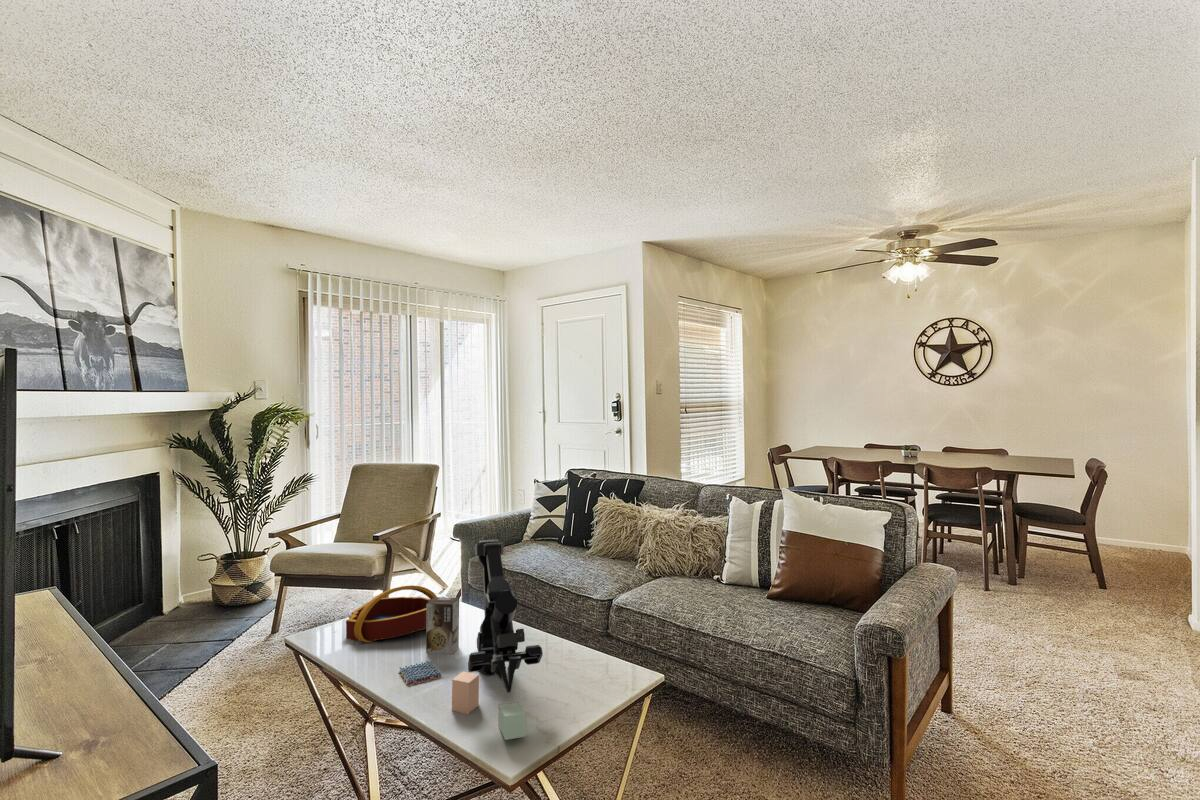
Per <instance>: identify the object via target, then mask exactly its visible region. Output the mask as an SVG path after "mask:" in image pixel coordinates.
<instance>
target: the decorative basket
mask: <svg viewBox="0 0 1200 800" xmlns="http://www.w3.org/2000/svg"><path fill="white" fill-rule="evenodd" d="M404 590H405V591H407V590H409V591H417V592H419V593H421V594H423V595H425V596H426V597H423V596H417V597H415V596H397V597H396V596H395V597H393V596H392V597H387V596H389V595H391V594H393V593H396V592H399V591H404ZM433 597H438V596H437V595H436V594H435V593H434V592H433V590H430V589H429V588H426V587H425V586H424V587H423V586H420V585H402V586H398V587H393V588H390V589H387V590H385V591H383V592H381V593H379V594H377V595H376V596H375V597H373V598H372V599H371V600H370V601H368V602H366V603H365V604H363V605H361V606H360V607H358V608H357V609H355V610H353V611H351V614H350V615H349V617H348V619H346V620H345V629H346V630H345V636H346V637H345V638H346V639H348V640H350V641H351V640H352V641H359V642H363V643H365V644H366V643H367V644H368V643H373V642H375V641H377V640H385V639H392V638H397V637H401V636H404V635H409V634H412V633H415V632H418V631H422V630H425V629H426V621H427V609H426V604H427V603H428V602H429V601H430V600H431V599H432V598H433Z"/></svg>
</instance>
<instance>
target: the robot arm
mask: <svg viewBox="0 0 1200 800" xmlns="http://www.w3.org/2000/svg"><path fill="white" fill-rule="evenodd" d="M474 555H475V556H476V559H477V560H476V562H477V563H478V564H479V566H480V567H481V569H482V579H483V580H482V582H483V604H484V605H483V607H484V608H483V609H484V618H483V620H482V622H481V624H480V627H479V631H478V633H477V637H476V648H477V651H476V652H475V651H473V652H471V653H470V654H469V657H468V662H467V667H468V668H467V670H468V672H469V673H474V672H481V673H483V674H485V675H488V676H493V675H496V676H497V678H498V679H499V680H500V682H501V684H502V686H503V688H504V689H505V691H506V693H507V694H510V693H511V691H512V686H513V682H514V675H515V670H519V668H520V666H521V664H522V661H523V660H524V663H525V664H526V665H529V666H531V665H536V664H539V663H540V662H541V661H542V657H543V647H542V646H541V645H540V644H534V645H527V646H526V647H525V649H524V651H517V650H518V647H519V643H523V642H525V641H526V636H525V630H524V628H518V629H514V623H513V620H514V617H515V613H516V610H517V608H518V597H517V596H516V595H515V594H514V591H513V590H512V589H511V583H510V582H509V581H508V580H507V579H506V578H505V573H504V568H503V561H502V555H504V542H500V541H499V539H480V540H478V543H475V545H474ZM514 630H515V631H514ZM506 663H508V665H507V666H508V667H506ZM506 669H507V670H506Z"/></svg>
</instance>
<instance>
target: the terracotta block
mask: <svg viewBox="0 0 1200 800" xmlns="http://www.w3.org/2000/svg"><path fill="white" fill-rule="evenodd" d="M451 681H452V683H451V711H453V712H457V713H462V714H466V715H469V714H470V713H471V712H472V711H473V710H474V709H475V708H477V707H478V706H479V705H480V702H479V700H480V697H479V695H480V674H478V673H474V672H467V671H462V672H460V673H459V674H457V675H456V676H455V677H454V678H452V679H451Z"/></svg>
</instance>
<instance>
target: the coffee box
mask: <svg viewBox="0 0 1200 800" xmlns="http://www.w3.org/2000/svg"><path fill="white" fill-rule="evenodd" d="M426 609H427V621H426V628H425V629H426V631H425V632H426V633H425V634H426V636H425V638H426V639H425V640H426V641H425V645H426V646H425V653H427V654H440V655H441V654H443V655H444V654H445V655H453V654H454V653H455V652H456V651H457V649H459V647H460V646H459V645H460V644H459V643H460V642H459V641H460V637H459V635H460V631H459V630H460V598H459V597H438V596H437V597H433V598H432V599H431V600H430V601H429V602H428V603H427V604H426Z"/></svg>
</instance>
